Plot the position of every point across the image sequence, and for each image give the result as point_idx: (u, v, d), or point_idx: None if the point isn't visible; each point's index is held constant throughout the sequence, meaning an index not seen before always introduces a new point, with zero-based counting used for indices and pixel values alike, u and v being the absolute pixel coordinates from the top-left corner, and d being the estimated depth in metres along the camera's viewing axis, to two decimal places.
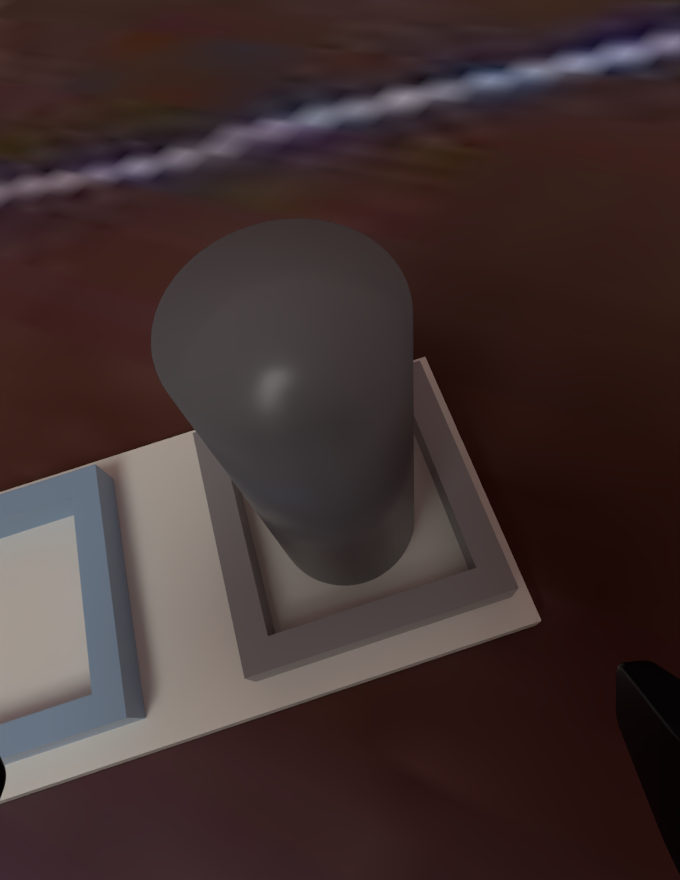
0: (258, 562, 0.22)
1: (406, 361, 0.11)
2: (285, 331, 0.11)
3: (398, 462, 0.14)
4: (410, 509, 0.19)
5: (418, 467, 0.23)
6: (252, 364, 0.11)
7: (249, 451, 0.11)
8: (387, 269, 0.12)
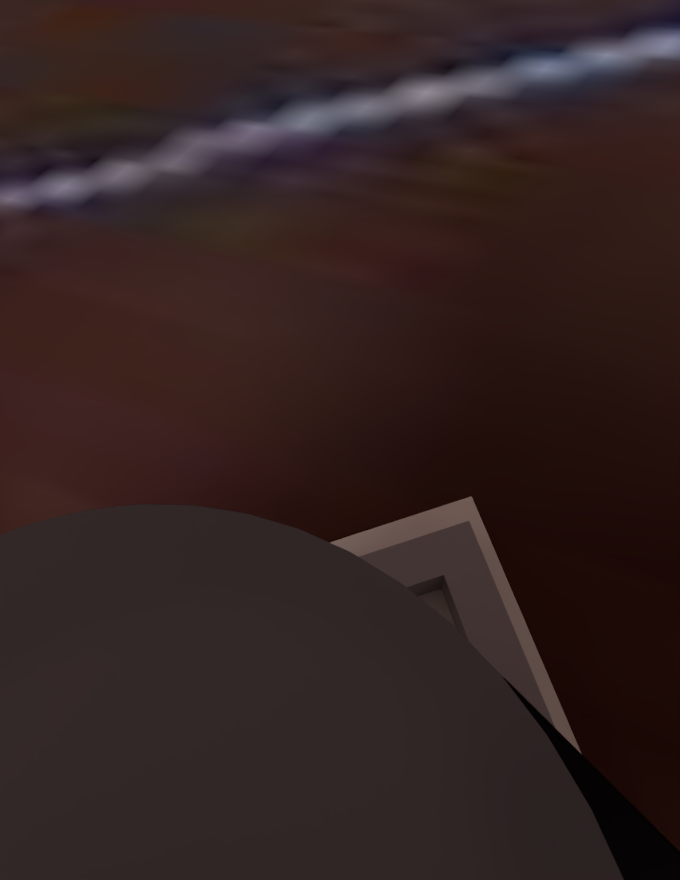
0: None
1: None
2: None
3: None
4: None
5: None
6: None
7: None
8: (536, 810, 0.03)
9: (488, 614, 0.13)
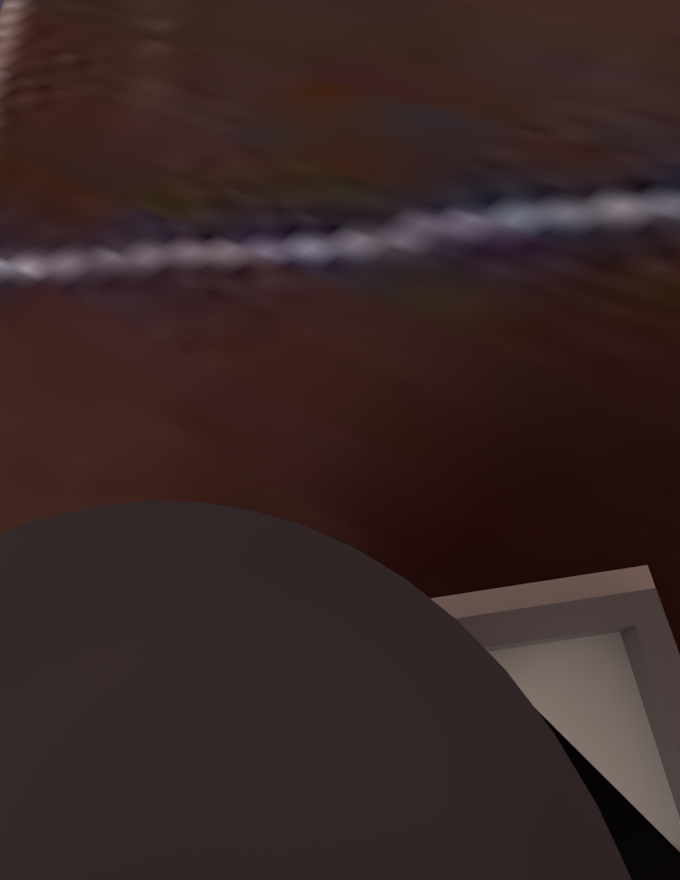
0: None
1: None
2: None
3: None
4: None
5: (636, 716, 0.19)
6: None
7: None
8: (542, 806, 0.03)
9: (667, 659, 0.18)
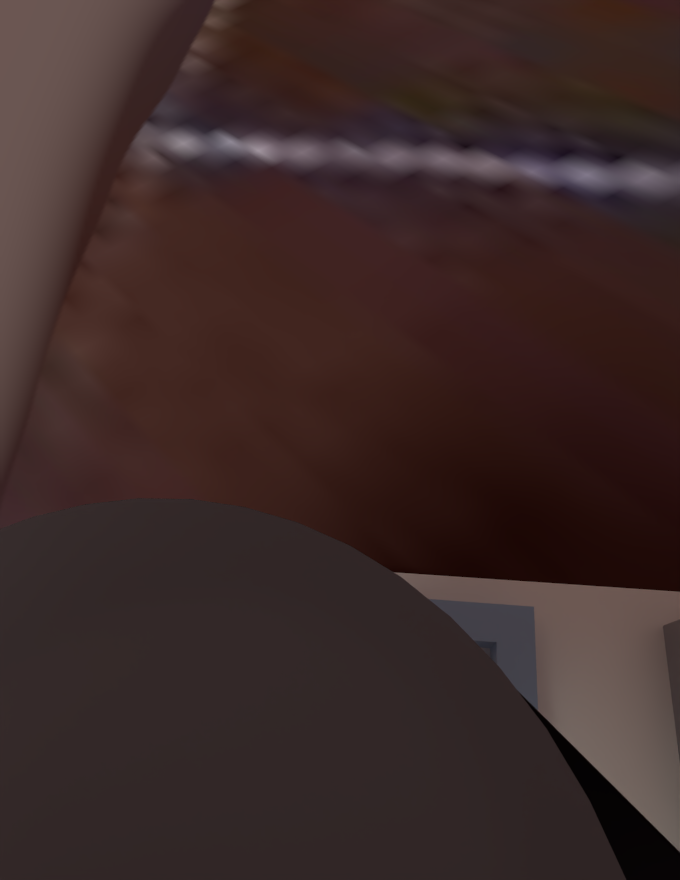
0: None
1: None
2: None
3: None
4: None
5: None
6: None
7: None
8: (535, 802, 0.03)
9: None
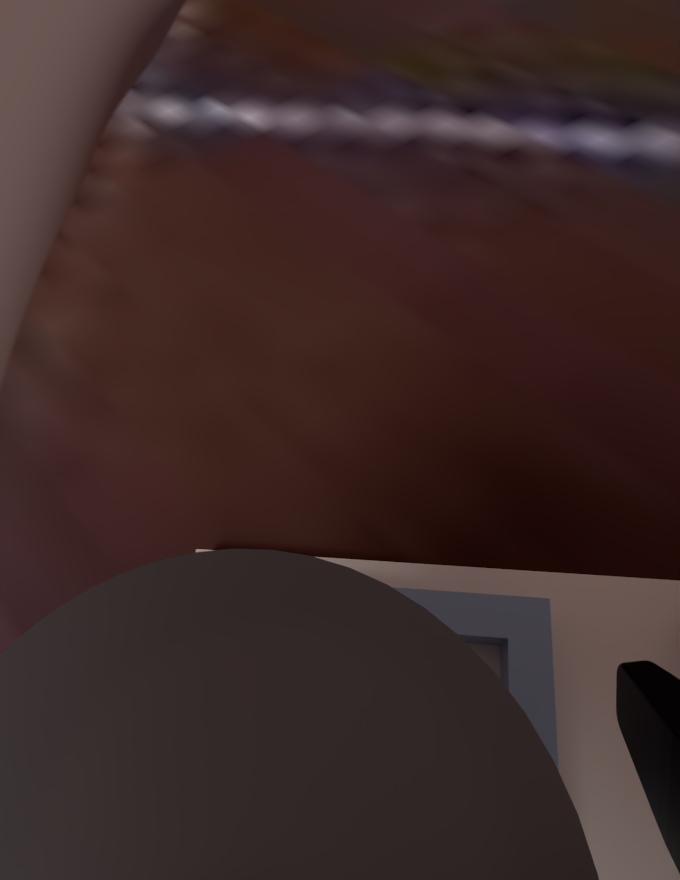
0: None
1: None
2: None
3: None
4: None
5: None
6: None
7: None
8: (517, 762, 0.04)
9: None
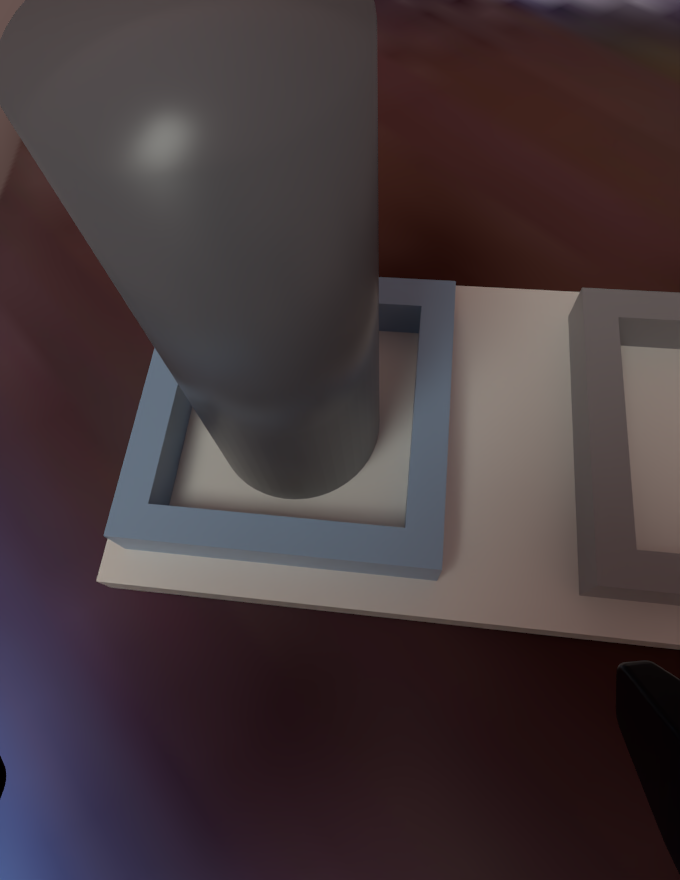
0: None
1: (364, 98, 0.08)
2: (190, 48, 0.08)
3: (355, 300, 0.11)
4: (373, 401, 0.16)
5: None
6: (137, 86, 0.07)
7: (130, 215, 0.08)
8: None
9: None
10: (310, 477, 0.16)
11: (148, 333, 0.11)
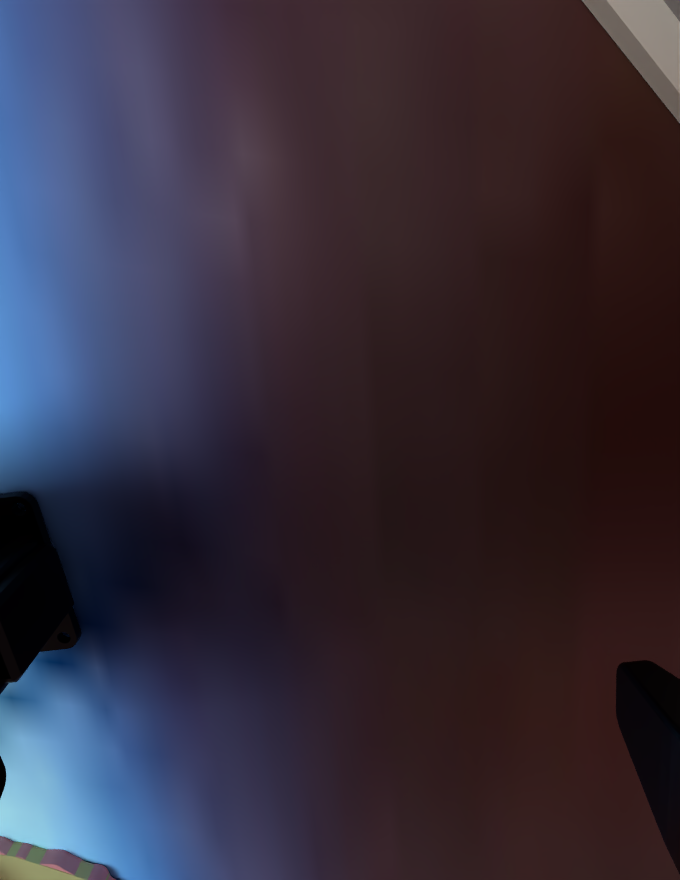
0: None
1: None
2: None
3: None
4: None
5: None
6: None
7: None
8: None
9: None
10: None
11: None
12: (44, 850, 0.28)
